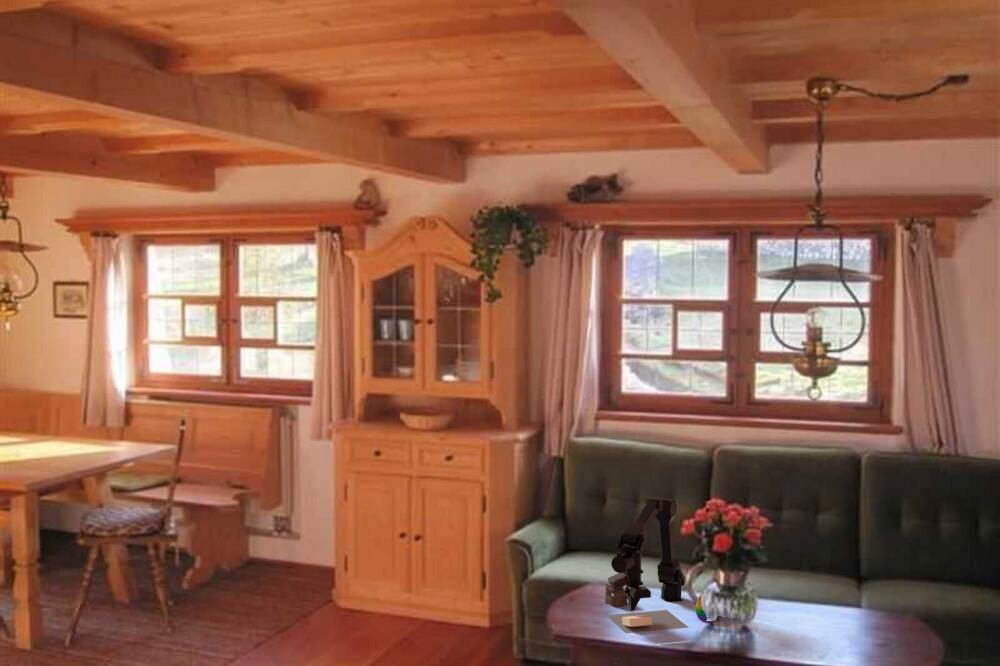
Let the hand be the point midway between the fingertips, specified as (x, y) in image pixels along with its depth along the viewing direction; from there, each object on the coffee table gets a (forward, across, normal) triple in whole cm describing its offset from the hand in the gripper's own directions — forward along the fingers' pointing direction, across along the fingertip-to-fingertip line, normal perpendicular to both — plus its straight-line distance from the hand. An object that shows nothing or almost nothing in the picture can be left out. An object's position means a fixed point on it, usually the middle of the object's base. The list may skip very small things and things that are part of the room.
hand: (632, 610), depth 333 cm
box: (+5, -20, +2) cm, 21 cm away
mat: (+5, 0, +6) cm, 7 cm away
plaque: (+3, 0, 0) cm, 3 cm away
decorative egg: (+5, +3, +27) cm, 28 cm away
